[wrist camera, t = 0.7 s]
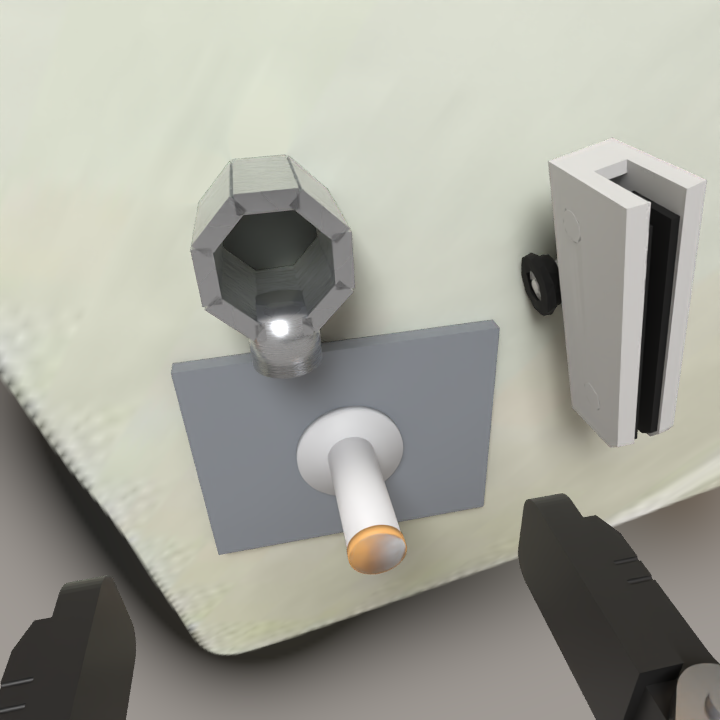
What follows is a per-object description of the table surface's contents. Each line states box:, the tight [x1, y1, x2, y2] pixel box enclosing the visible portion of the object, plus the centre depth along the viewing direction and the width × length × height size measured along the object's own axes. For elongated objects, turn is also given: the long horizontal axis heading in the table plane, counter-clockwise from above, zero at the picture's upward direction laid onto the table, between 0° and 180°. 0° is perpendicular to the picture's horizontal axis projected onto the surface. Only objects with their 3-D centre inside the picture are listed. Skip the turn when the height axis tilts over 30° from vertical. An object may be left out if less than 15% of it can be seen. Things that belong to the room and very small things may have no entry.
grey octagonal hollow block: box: [190, 155, 355, 379], centre depth 26 cm, size 6×8×6 cm
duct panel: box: [171, 320, 500, 574], centre depth 32 cm, size 18×14×9 cm
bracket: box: [522, 138, 707, 447], centre depth 28 cm, size 4×10×15 cm
